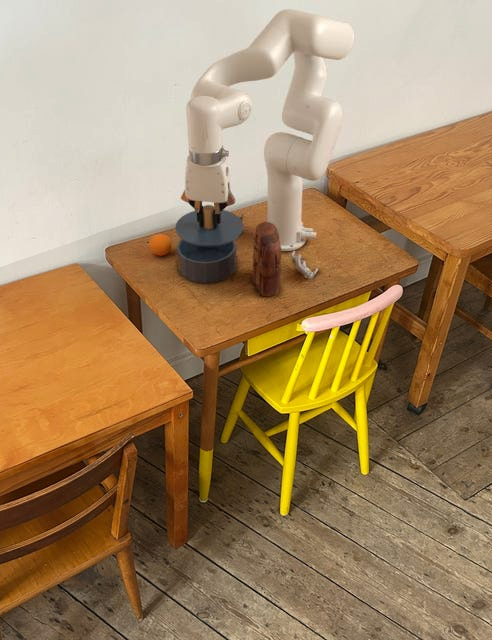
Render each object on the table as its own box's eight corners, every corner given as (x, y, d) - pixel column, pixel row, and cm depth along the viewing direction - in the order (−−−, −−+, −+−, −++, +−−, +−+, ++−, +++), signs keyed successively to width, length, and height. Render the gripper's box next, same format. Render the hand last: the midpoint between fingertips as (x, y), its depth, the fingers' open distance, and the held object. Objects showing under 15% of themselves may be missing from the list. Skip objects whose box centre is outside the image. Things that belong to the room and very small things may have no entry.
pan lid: (248, 215, 184) (248, 193, 180) (236, 251, 172) (236, 229, 168) (184, 209, 186) (183, 188, 182) (168, 245, 174) (166, 222, 170)
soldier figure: (308, 261, 205) (329, 272, 195) (299, 275, 205) (319, 287, 195) (289, 246, 201) (309, 256, 191) (279, 261, 201) (298, 272, 191)
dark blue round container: (240, 252, 207) (240, 232, 202) (230, 285, 195) (230, 265, 191) (186, 247, 208) (184, 228, 204) (173, 280, 197) (171, 260, 193)
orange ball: (174, 248, 208) (172, 230, 204) (169, 260, 204) (167, 242, 200) (153, 246, 209) (151, 228, 205) (148, 258, 205) (146, 240, 200)
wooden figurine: (248, 273, 199) (247, 215, 187) (271, 270, 200) (272, 212, 188) (260, 299, 191) (260, 240, 179) (284, 295, 192) (285, 236, 180)
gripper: (244, 149, 167) (245, 219, 180) (174, 143, 169) (180, 214, 182) (238, 164, 162) (239, 236, 174) (166, 158, 164) (172, 230, 176)
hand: (209, 224), depth 178 cm, fingers closed on pan lid, 2 cm apart
